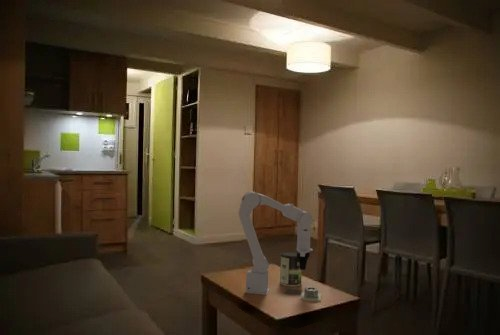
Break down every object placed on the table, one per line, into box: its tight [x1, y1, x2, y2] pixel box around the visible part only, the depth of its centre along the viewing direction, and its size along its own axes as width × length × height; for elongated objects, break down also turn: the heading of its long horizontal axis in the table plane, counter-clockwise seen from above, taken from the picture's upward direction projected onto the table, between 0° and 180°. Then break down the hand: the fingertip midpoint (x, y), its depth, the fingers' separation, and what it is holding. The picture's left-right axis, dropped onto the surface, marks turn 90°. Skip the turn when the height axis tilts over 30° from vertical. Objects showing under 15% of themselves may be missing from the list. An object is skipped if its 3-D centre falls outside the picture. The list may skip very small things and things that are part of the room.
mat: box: [283, 288, 303, 296], centre depth 167 cm, size 7×7×1 cm
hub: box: [300, 289, 322, 303], centre depth 161 cm, size 8×8×4 cm
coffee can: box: [279, 251, 303, 287], centre depth 180 cm, size 10×10×14 cm
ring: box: [303, 286, 319, 298], centre depth 161 cm, size 6×6×3 cm
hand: (302, 269), depth 169 cm, fingers closed
